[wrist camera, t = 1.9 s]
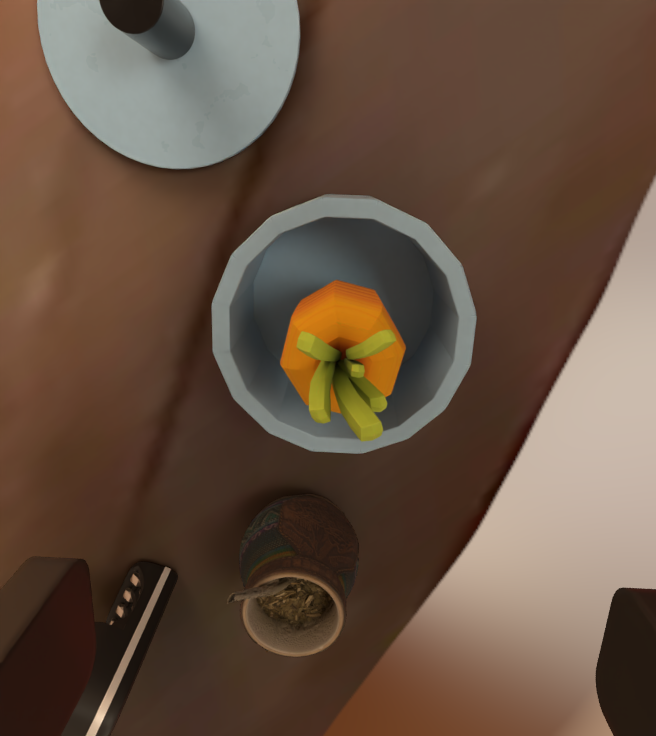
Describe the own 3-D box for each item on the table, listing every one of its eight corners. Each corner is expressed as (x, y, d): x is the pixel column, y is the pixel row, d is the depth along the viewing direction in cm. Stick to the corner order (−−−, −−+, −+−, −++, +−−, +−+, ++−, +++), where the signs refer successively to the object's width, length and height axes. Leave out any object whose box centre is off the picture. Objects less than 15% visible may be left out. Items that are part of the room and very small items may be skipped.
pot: (240, 189, 30) (208, 191, 23) (456, 199, 30) (491, 204, 23) (241, 392, 34) (214, 447, 27) (434, 401, 34) (459, 459, 27)
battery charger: (129, 545, 37) (42, 693, 27) (182, 567, 38) (117, 722, 27) (95, 620, 39) (0, 786, 29) (146, 641, 40) (71, 812, 29)
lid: (33, -125, 26) (-56, -213, 20) (304, -115, 26) (293, -201, 20) (62, 164, 30) (-5, 159, 24) (298, 174, 30) (287, 172, 24)
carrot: (292, 264, 31) (248, 334, 17) (382, 252, 31) (416, 312, 16) (305, 350, 32) (275, 481, 18) (391, 340, 32) (429, 465, 18)
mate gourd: (315, 593, 38) (306, 728, 29) (221, 535, 37) (179, 656, 27) (380, 519, 36) (394, 638, 27) (284, 456, 35) (262, 557, 26)
